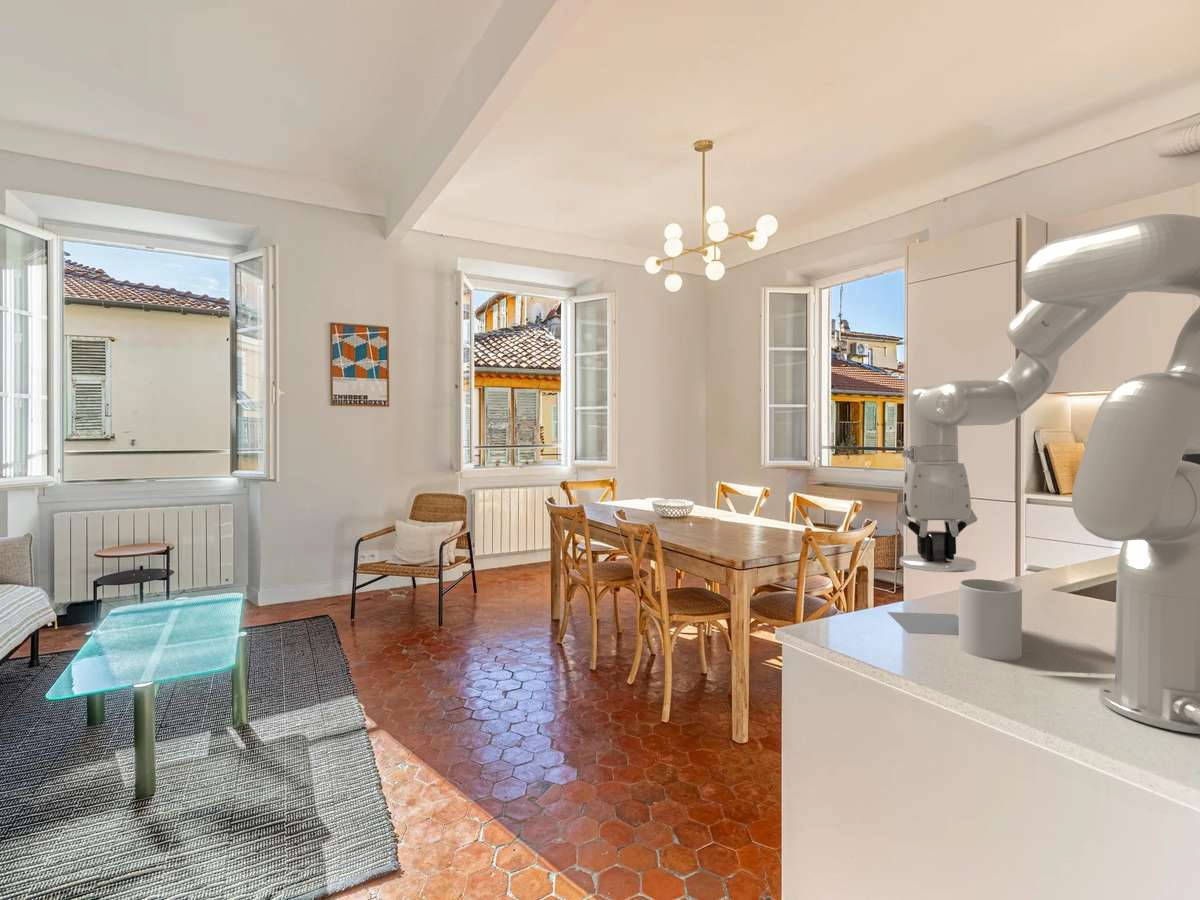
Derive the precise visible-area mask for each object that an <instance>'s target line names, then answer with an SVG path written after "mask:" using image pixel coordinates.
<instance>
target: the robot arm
mask: <svg viewBox="0 0 1200 900" xmlns="http://www.w3.org/2000/svg"><path fill="white" fill-rule="evenodd" d="M1021 285H1022V289H1023V291H1024V293H1025V294H1026V296H1028V297H1029V298H1030V300H1028V302H1026V304H1025V305H1024V306H1023V307H1022V308H1021V309H1020V310H1019V311H1018V312H1017V313H1016V314H1015V315H1014V316H1013V317H1012V318H1011V319H1010V320H1009V321H1008V323H1007V326H1006V336H1007V337H1008V339H1009V341H1010V343H1011V344H1012V345H1013V346H1014V347H1015V348H1016V349H1017V350H1018V351H1019V355H1018V357H1017V358H1016V359H1015V361H1014V362H1013V363H1012V364H1011V366H1009V367H1008V369H1006V370H1005V371H1004V373H1002V374H1001V375H1000V376H999V377H997V378H996V379H995V380H978V379H977V380H976V379H975V380H953V381H952V380H951V381H948V382H945V383H941V384H939V385H931V386H921V387H917V388H915V389H912V390H911V392H910V393H909V395H908V396H909V397H908V406H909V407H908V408H909V409H908V411H909V413H908V415H909V445H910V446H909V447H908V449H907V448H906V449H904V450H902V451H901V456H902V458H907V459H909V461H910V463H907V464H906V467H905V471H904V472H905V473H904V474H905V475H904V481H903V490H902V506H901V507H900V509H899V510H898V513H897V514H896V516H895V521H896V522H897V523H899V524H902V525H904V526H905V527H907V528H908V529H909V530H911V532H913V533H914V535H916V543H917V545H916V546H917V548H916V549H917V553H918V554H917V555H920V556H921V558H923V559H925V560H929V559H931V553H930V538H929V537H927V531H928V524H929V521H943V525H944V532H946V539H947V559H949V560H954V556H955V555H956V554H957V537H959V536H960V535H959V534H961V532H962V531H963V530H964V529H966V527H969V526H970V525H971V524H974V523H976V522H977V521H978V517H977V516H976V514H975V512H974V511H973V508H972V501H971V491H970V486H969V481H968V480H969V479H968V474H967V469H966V466H965V463H963V462H959V445H958V444H959V433H958V432H959V431H958V427H959V426H960V427H962V426H963V427H965V426H999V425H1000V426H1001V425H1003V424H1007V423H1009V422H1011V421H1014V420H1015V419H1017V418H1018V417H1020V416H1021V415H1022V414H1023V413H1025V412H1026V411H1027V410H1029V408H1031V407H1032V406H1033V405H1034V404H1035V403H1036V402H1037V401H1038V400H1040V399H1041V398H1042V397H1043V396H1044V394H1046V393H1047V391H1048V390H1049V388H1050V387H1051V386H1052V384H1053V381H1054V379H1055V376H1056V374H1057V372H1058V368H1059V362H1060V358H1061V357H1062V355H1064V353H1066V351H1067V350H1069V349H1070V348H1071V347H1072V346H1073V345H1074V344H1075V343H1076V342H1077V341H1078V340H1080V339H1081V338H1082V337H1083V336H1084V335H1086V333H1087V332H1088V331H1089V330H1090V329H1092V327H1094V326H1095V325H1096V324H1097V323H1098V322H1099V321H1100V320H1101V319H1102V318H1104V317H1105V316H1106V315H1107V314H1108V313H1109V311H1111V310H1112V309H1113V308H1114V307H1115V306H1117V304H1118V303H1120V302H1121V301H1122V300H1123V299H1124V298H1125V297H1126V296H1127V295H1128V294H1131V293H1140V292H1141V293H1142V292H1143V293H1144V292H1147V293H1148V292H1149V293H1151V292H1152V293H1163V294H1164V293H1165V294H1181V295H1184V294H1185V295H1193V296H1196V297H1197V298H1199V299H1200V216H1194V215H1189V214H1188V215H1187V214H1176V213H1161V214H1153V215H1146V216H1142V217H1137V218H1133V219H1129V220H1124V221H1121V222H1117V223H1113V224H1109V225H1106V226H1105V225H1104V226H1102V227H1098V228H1094V229H1090V230H1085V231H1081V232H1078V233H1073V234H1069V235H1066V236H1065V235H1064V236H1061V237H1059V238H1057V239H1053V240H1051V241H1050V242H1048V243H1046V244H1044V245H1042V246H1041V247H1040V248H1039V249H1038V250H1036V251H1035V252H1034V253H1033V254H1032V255H1031V257H1030V258H1029V259H1028V260H1027V262H1026V264H1025V266H1024V267H1023V269H1022V274H1021ZM1084 447H1085V448H1084V450H1083V453H1082V456H1081V459H1080V463H1079V466H1078V469H1077V472H1076V476H1075V478H1074V482H1073V488H1072V492H1071V493H1072V494H1071V504H1072V505H1071V506H1072V510H1073V512H1074V515H1075V518H1076V520H1077V521H1078V523H1079V524H1080V525H1081V527H1083V529H1085V530H1086V531H1088V533H1090V534H1092V535H1093V536H1095V537H1097V538H1100V539H1103V540H1106V541H1112V542H1119V543H1120V542H1122V544H1121V547H1120V551H1119V554H1118V560H1117V565H1116V584H1115V585H1116V587H1115V588H1116V597H1115V656H1114V657H1115V659H1114V662H1115V665H1114V666H1115V668H1114V682H1112V683H1111V682H1109V683H1106V684H1104V685H1102V686H1101V687H1099V691H1098V692H1099V699H1100V701H1101V702H1102V703H1103V704H1104V705H1105V706H1106V707H1108V709H1110V710H1112V711H1114V712H1115V713H1118V714H1119V715H1122V716H1123V717H1125V718H1129V719H1132V720H1133V721H1137V722H1140V723H1142V724H1146V725H1150V726H1154V727H1156V728H1161V729H1165V730H1170V731H1174V732H1180V733H1186V734H1194V735H1200V464H1199V463H1195V462H1191V461H1187V460H1182V459H1183V456H1184V455H1198V454H1200V305H1199V306H1198V307H1197V308H1196V309H1195V311H1194V312H1193V313H1192V314H1191V316H1189V318H1188V320H1187V321H1186V322H1185V323H1184V325H1183V326H1182V328H1181V330H1180V332H1179V333H1178V336H1177V338H1176V341H1175V344H1174V349H1173V351H1172V354H1171V356H1170V359H1169V361H1168V363H1167V366H1166V368H1165V370H1164V372H1151V373H1145V374H1140V375H1135V376H1133V377H1131V378H1128V379H1126V380H1124V381H1123V382H1121V383H1120V384H1118V385H1116V387H1115V388H1113V389H1112V390H1111V391H1110V392H1109V393H1108V394H1107V395H1106V397H1105V398H1104V399H1103V401H1102V402H1101V404H1100V406H1099V407H1098V410H1097V411H1096V414H1095V417H1094V420H1093V423H1092V426H1091V428H1090V431H1089V435H1088V439H1087V441H1086V444H1085V446H1084ZM908 517H909V518H911V519H913V520H914V521H915V522H914V521H912V520H911V519H909V518H908Z"/></svg>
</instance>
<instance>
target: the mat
mask: <svg viewBox="0 0 1200 900" xmlns="http://www.w3.org/2000/svg"><path fill="white" fill-rule="evenodd" d="M887 614H888V615H889V616H890V617H891V618H892V619H894V621H896V623H897V624H898V625H899V626H900V627H902V629H904V630H905V631H906V633H908V634H922V635H923V634H927V635H932V634H933V635H954V636H955V635H956V636H957V635H958V636H959V615H956V613H931V612H929V613H928V612H925V613H924V612H900V611H899V612H898V611H897V612H896V611H895V612H894V611H887Z"/></svg>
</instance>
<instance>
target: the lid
mask: <svg viewBox="0 0 1200 900" xmlns="http://www.w3.org/2000/svg"><path fill="white" fill-rule="evenodd" d="M927 537H929V538H930V553H931V559H929V560H925V559H923V558H921V556H920V554H908V555H903V556H900V557H899V565H900V566H901V567H904V568H907V569H912V570H917V571H924V572H934V573H965V572H972V571H976V569H977V561H975V560H974V559H971V558H967V557H962V556H956V555H954V560H949V559H947V539H946V532H945V531H942V530H941V531H940V530H927Z"/></svg>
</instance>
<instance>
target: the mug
mask: <svg viewBox="0 0 1200 900" xmlns="http://www.w3.org/2000/svg"><path fill="white" fill-rule="evenodd" d="M1022 605H1023V591H1022V588H1021V587H1020V586H1018V585H1016V584H1014V583H1010V582H1006V581H1001V580H993V579H985V578H984V579H983V578H981V579H979V578H975V579H974V578H971V579H968V578H967V579H962V580H961V581H960V582H959V584H958V617H959V635H958V637H957V638H958V641H957V644H958V648H959V650H961V651H962V652H964V653H966V654H968V655H971V656H974V657H977V658H982V659H986V660H987V659H988V660H993V661H994V660H995V661H1016V660H1020V659H1021V658H1023V657H1022V656H1023V647H1022V646H1023V645H1022V644H1023V643H1022V641H1023V640H1022V639H1023V638H1022V636H1023V635H1022V633H1023V632H1022V630H1023V629H1022V626H1023V625H1022V624H1023V621H1022V619H1023V618H1022V617H1023V616H1022V615H1023V606H1022Z"/></svg>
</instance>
